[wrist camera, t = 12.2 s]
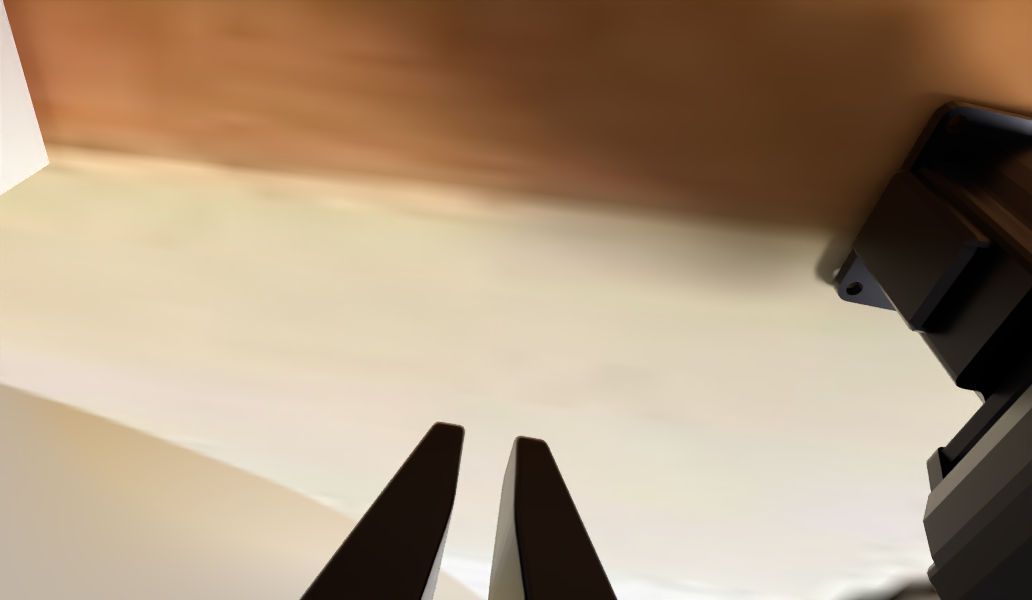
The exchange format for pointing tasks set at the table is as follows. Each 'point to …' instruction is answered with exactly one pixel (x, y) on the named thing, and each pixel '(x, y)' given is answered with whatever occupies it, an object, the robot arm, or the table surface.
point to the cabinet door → (16, 116)
